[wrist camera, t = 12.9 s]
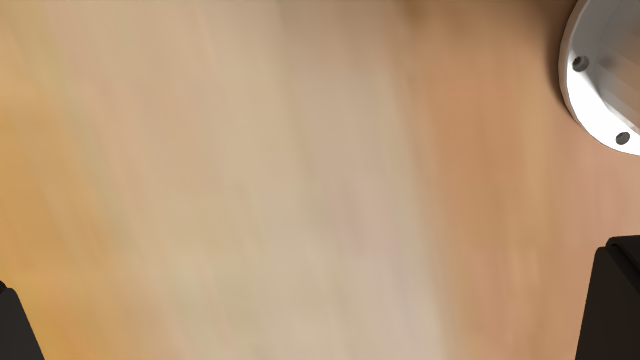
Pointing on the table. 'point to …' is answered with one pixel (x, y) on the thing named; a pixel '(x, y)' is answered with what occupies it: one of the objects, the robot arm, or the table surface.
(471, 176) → the table surface
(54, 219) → the table surface
